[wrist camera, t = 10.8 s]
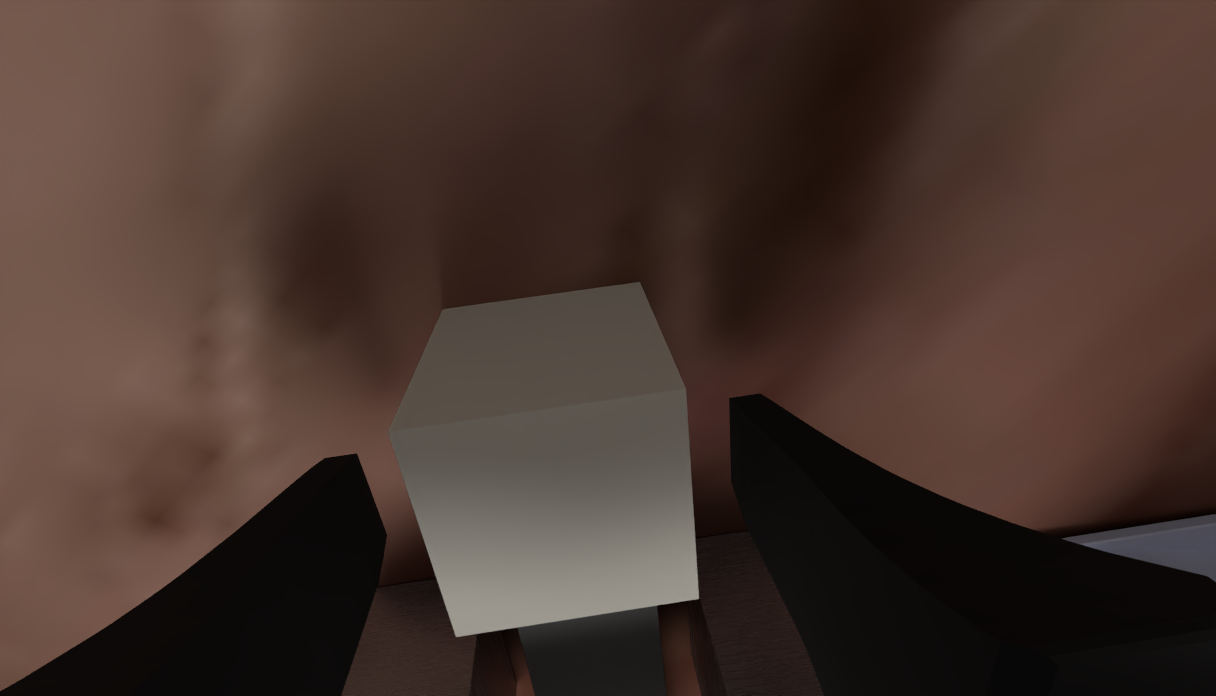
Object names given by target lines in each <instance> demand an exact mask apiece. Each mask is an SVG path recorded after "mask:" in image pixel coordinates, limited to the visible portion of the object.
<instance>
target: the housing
mask: <svg viewBox="0 0 1216 696" xmlns="http://www.w3.org/2000/svg"><path fill="white" fill-rule="evenodd" d="M695 542H696V558H697V574H698V590H699V599H695V600H689V601H688V610H689V624H690V637H691V650H692V659H693V663H694V667H695V671H696V675H697V679H698V683H699V687H700V691H701V696H824V695H823V692H822V689H821V687H820V684H819V681H818V679H817V676H816V673H815V671H814V668H813V666H812V663H811V660H810V658H809V655H808V653H807V650H806V648H805V646H804V643H803V641H802V639H801V637H800V634H799V632H798V630H797V628H796V626H795V624H794V622H793V620H792V618H791V616H790V614H789V612H788V610H787V608H786V606H785V604H784V602H783V600H782V598H781V596H780V594H779V592H778V590H777V588H776V586H775V584H774V582H773V579H772V577H771V575H770V573H769V571H768V569H767V567H766V565H765V563H764V561H763V559H762V557H761V555H760V553H759V551H758V549H757V547H756V545H755V543H754V541H753V539H752V537H751V535H750V533H749V531H743V532H736V533H730V534H723V535H717V536H710V537H704V538H697V539H695ZM516 690H517V684H516V680H515V677H514V673H513V669H512V666H511V662H510V659H509V655H508V652H507V648H506V644H505V641H504V637H503V634H502V630H498V631H492V632H485V633H479V634H473V635H466V636H460V637H456V635H455V632H454V629H453V626H452V623H451V620H450V617H449V614H448V611H447V608H446V605H445V602H444V599H443V596H442V593H441V590H440V587H439V584H438V581H437V579H431V580H425V581H418V582H412V583H405V584H399V585H392V586H386V587H379V588H377V589H376V592H375V595H374V599H373V602H372V605H371V608H370V611H369V614H368V617H367V620H366V623H365V626H364V629H363V632H362V635H361V638H360V641H359V644H358V647H357V650H356V653H355V656H354V659H353V662H352V665H351V668H350V671H349V674H348V677H347V680H346V683H345V686H344V689H343V692H342V695H341V696H516Z"/></svg>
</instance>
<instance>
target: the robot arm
mask: <svg viewBox="0 0 1216 696" xmlns="http://www.w3.org/2000/svg"><path fill="white" fill-rule="evenodd" d="M729 408H730V449H731V483H732V486H733V489H734V492H735V495H736V498H737V501H738V504H739V507H740V509H741V512H742V515H743V518H744V521H745V523H746V526H747V528H748V531H749V533H750V535H751V537H752V539H753V541H754V543H755V545H756V547H757V549H758V551H759V553H760V555H761V557H762V559H763V561H764V563H765V565H766V567H767V569H768V571H769V573H770V575H771V577H772V579H773V582H774V584H775V586H776V588H777V590H778V592H779V594H780V596H781V598H782V600H783V602H784V604H785V606H786V608H787V610H788V612H789V614H790V616H791V618H792V620H793V622H794V624H795V626H796V628H797V630H798V632H799V634H800V637H801V639H802V641H803V643H804V646H805V648H806V650H807V653H808V655H809V658H810V660H811V663H812V666H813V668H814V671H815V673H816V676H817V679H818V681H819V684H820V687H821V689H822V692H823V695H824V696H1216V514H1213V515H1206V516H1200V517H1194V518H1187V519H1181V520H1175V521H1168V522H1162V523H1156V524H1149V525H1143V526H1136V527H1130V528H1124V529H1117V530H1111V531H1105V532H1098V533H1092V534H1086V535H1079V536H1073V537H1067V538H1057V537H1054V536H1050V535H1047V534H1044V533H1041V532H1038V531H1035V530H1032V529H1029V528H1026V527H1023V526H1019V525H1016V524H1013V523H1011V522H1008V521H1005V520H1002V519H1000V518H997V517H994V516H992V515H989V514H986V513H983V512H981V511H978V510H975V509H973V508H970V507H967V506H965V505H962V504H960V503H957V502H955V501H952V500H950V499H948V498H945V497H943V496H941V495H938V494H936V493H934V492H932V491H929V490H927V489H925V488H923V487H921V486H918V485H916V484H914V483H912V482H910V481H907V480H905V479H903V478H901V477H899V476H897V475H895V474H893V473H891V472H889V471H887V470H885V469H883V468H881V467H880V466H878V465H876V464H874V463H872V462H870V461H869V460H867V459H865V458H863V457H861V456H859V455H857V454H856V453H854V452H852V451H851V450H849V449H847V448H845V447H844V446H842V445H840V444H839V443H837V442H835V441H834V440H832V439H830V438H829V437H827V436H825V435H824V434H822V433H821V432H819V431H817V430H816V429H814V428H813V427H811V426H810V425H808V424H806V423H805V422H803V421H802V420H800V419H799V418H797V417H796V416H794V415H793V414H791V413H790V412H788V411H787V410H785V409H784V408H782V407H781V406H779V405H778V404H776V403H774V402H773V401H771V400H770V399H768V398H767V397H765V396H763V395H762V394H754V395H747V396H740V397H734V398H729ZM386 538H387V534H386V531H385V528H384V526H383V523H382V520H381V517H380V515H379V512H378V509H377V507H376V504H375V501H374V498H373V496H372V493H371V490H370V488H369V485H368V482H367V479H366V477H365V474H364V471H363V469H362V466H361V463H360V460H359V458H358V455H357V454H350V455H343V456H336V457H330V458H324V459H323V460H322V461H320V462H319V463H317V464H316V465H315V466H313V467H312V468H311V469H309V470H308V471H307V472H306V473H304V474H303V475H302V476H301V477H300V478H298V479H297V480H296V481H295V482H294V483H292V484H291V485H290V486H289V487H288V488H286V489H285V490H284V491H283V492H282V493H281V494H279V495H278V496H277V497H276V498H275V499H274V500H272V501H271V502H270V503H269V504H268V505H266V506H265V507H264V508H263V509H262V510H261V511H259V512H258V513H257V514H256V515H255V516H253V517H252V518H251V519H250V520H249V521H247V522H246V523H245V524H244V525H243V526H242V527H240V528H239V529H238V530H237V531H236V532H234V533H233V534H232V535H231V536H229V537H228V538H227V539H226V540H224V541H223V542H222V543H220V544H219V545H218V546H217V547H215V548H214V549H213V550H212V551H210V552H209V553H208V554H207V555H205V556H204V557H203V558H201V559H200V560H199V561H198V562H196V563H195V564H194V565H193V566H191V567H190V568H189V569H187V570H186V571H185V572H184V573H182V574H181V575H180V576H178V577H177V578H176V579H174V580H173V581H172V582H170V583H169V584H168V585H166V586H165V587H164V588H162V589H161V590H159V591H158V592H157V593H155V594H154V595H152V596H151V597H150V598H148V599H147V600H145V601H144V602H142V603H141V604H139V605H138V606H137V607H135V608H134V609H132V610H131V611H129V612H128V613H126V614H125V615H123V616H122V617H120V618H119V619H118V620H116V621H115V622H113V623H112V624H110V625H109V626H107V627H106V628H104V629H102V630H101V631H99V632H98V633H96V634H95V635H93V636H91V637H90V638H88V639H86V640H85V641H83V642H82V643H80V644H78V645H77V646H75V647H73V648H72V649H70V650H69V651H67V652H65V653H64V654H62V655H60V656H59V657H57V658H56V659H54V660H52V661H51V662H49V663H47V664H46V665H44V666H43V667H41V668H39V669H38V670H36V671H34V672H33V673H31V674H30V675H28V676H26V677H25V678H23V679H21V680H19V681H18V682H16V683H14V684H13V685H11V686H9V687H7V688H5V689H4V690H2V691H0V696H341V695H342V692H343V689H344V686H345V683H346V680H347V677H348V674H349V671H350V668H351V665H352V662H353V659H354V656H355V653H356V650H357V647H358V644H359V641H360V638H361V635H362V632H363V629H364V626H365V623H366V620H367V617H368V614H369V611H370V608H371V605H372V602H373V599H374V595H375V592H376V589H377V586H378V582H379V577H380V572H381V567H382V562H383V556H384V550H385V544H386Z"/></svg>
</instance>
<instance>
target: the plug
mask: <svg viewBox="0 0 1216 696" xmlns="http://www.w3.org/2000/svg"><path fill="white" fill-rule="evenodd" d="M388 434H389V437H390V440H391V443H392V446H393V449H394V452H395V455H396V458H397V461H398V464H399V467H400V470H401V473H402V476H403V479H404V482H405V485H406V488H407V491H408V494H409V497H410V500H411V503H412V506H413V509H414V512H415V515H416V518H417V521H418V524H419V527H420V530H421V533H422V536H423V539H424V542H425V545H426V548H427V551H428V554H429V557H430V560H431V563H432V566H433V569H434V572H435V575H436V578H437V581H438V584H439V587H440V590H441V593H442V596H443V599H444V602H445V605H446V608H447V611H448V614H449V617H450V620H451V623H452V626H453V629H454V632H455V635H456V637H460V636H466V635H473V634H479V633H485V632H492V631H498V630H504V629H511V628H518V632H519V636H520V639H521V643H522V647H523V651H524V655H525V658H526V662H527V666H528V670H529V674H530V678H531V681H532V685H533V689H534V693H535V696H667V694H666V685H665V676H664V666H663V657H662V648H661V639H660V629H659V620H658V611H657V605H664V604H670V603H676V602H683V601H689V600H695V599H699V590H698V574H697V558H696V542H695V526H694V510H693V494H692V478H691V462H690V446H689V431H688V415H687V399H686V388H685V386H684V383H683V381H682V379H681V376H680V374H679V372H678V369H677V367H676V365H675V362H674V360H673V358H672V355H671V353H670V351H669V348H668V346H667V344H666V341H665V339H664V337H663V334H662V332H661V330H660V328H659V325H658V323H657V321H656V318H655V316H654V314H653V311H652V309H651V307H650V304H649V302H648V300H647V297H646V295H645V293H644V290H643V288H642V286H641V283H640V282H636V283H628V284H621V285H614V286H607V287H599V288H592V289H585V290H578V291H571V292H563V293H556V294H549V295H542V296H534V297H527V298H520V299H513V300H506V301H498V302H491V303H484V304H477V305H469V306H462V307H455V308H448V309H443V310H442V312H441V314H440V316H439V319H438V321H437V323H436V325H435V328H434V330H433V332H432V334H431V336H430V339H429V341H428V343H427V345H426V348H425V350H424V352H423V354H422V357H421V359H420V361H419V363H418V366H417V368H416V370H415V372H414V375H413V377H412V379H411V381H410V384H409V386H408V388H407V390H406V393H405V395H404V397H403V399H402V402H401V404H400V406H399V408H398V411H397V413H396V415H395V417H394V420H393V422H392V424H391V426H390V428H389V431H388Z"/></svg>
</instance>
